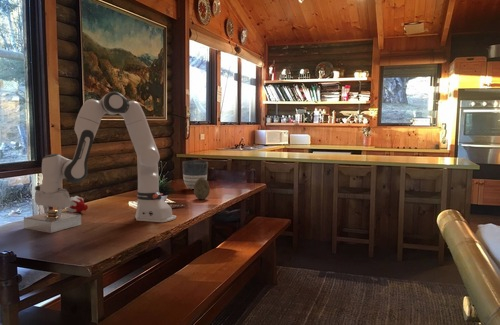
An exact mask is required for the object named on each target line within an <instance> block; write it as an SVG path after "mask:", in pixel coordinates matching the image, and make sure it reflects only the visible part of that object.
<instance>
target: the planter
mask: <svg viewBox="0 0 500 325" xmlns="http://www.w3.org/2000/svg"><path fill="white" fill-rule="evenodd" d="M208 167H209V162H208V161H206V160H184V161H182V177H183V182H184V184H185V186H186V187H187V188H188V189H189V190H192V189H194V186H195V183H196V181H197V180H198V179H199V178H201V177H203V178H205V179H206V180H207V181H208Z"/></svg>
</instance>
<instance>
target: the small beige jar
mask: <svg viewBox="0 0 500 325" xmlns="http://www.w3.org/2000/svg"><path fill="white" fill-rule="evenodd" d="M57 211H58V210H57V208H56V209H49V210H48V218H56V217H58V216H56V213H57Z"/></svg>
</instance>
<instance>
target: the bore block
mask: <svg viewBox="0 0 500 325" xmlns="http://www.w3.org/2000/svg"><path fill="white" fill-rule="evenodd" d="M81 225H82V213H81V214H80V213H70V212H67V211H62V212H61V216H59V217H56V218H48V215H46V214H45V212H44V213H41V214H36V215H32V216H31V215H30V216H27V217H26V216H24V217H23V229H25V230H32V231H38V232H43V233H48V234H52V233H56V232H59V231H64V230H66V229H70V228H73V227H74V228H76V227H78V226H81Z"/></svg>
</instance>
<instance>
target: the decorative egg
mask: <svg viewBox="0 0 500 325" xmlns="http://www.w3.org/2000/svg"><path fill="white" fill-rule="evenodd" d="M210 192H211V191H210V184H209V182H208V179H207V180H206V179H205V178H203V177H201V178H199V179H198V180H197V181H196V183H195V186H194V190H193V195H194V196H195V198H196V199H198V200H201V199H202V200H205V199H207V198H208V196H209V195H210Z"/></svg>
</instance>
